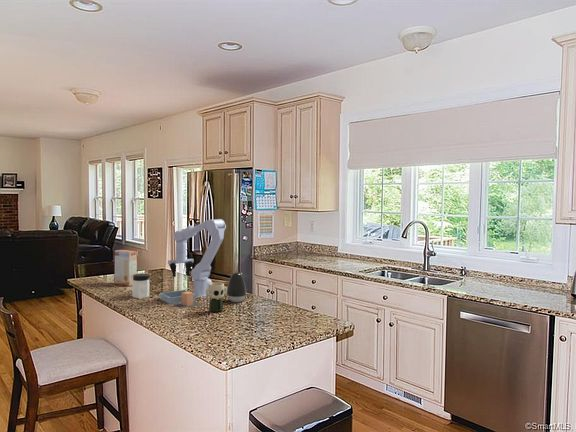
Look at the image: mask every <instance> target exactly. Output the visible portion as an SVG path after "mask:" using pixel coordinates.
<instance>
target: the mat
mask: <svg viewBox="0 0 576 432" xmlns="http://www.w3.org/2000/svg"><path fill="white" fill-rule="evenodd" d="M172 305H173V306H175V308H178V309H180V310H181V309H186V308H193V307H194V308H195V307H200V306H201V307H202V306H203V304H202V303H199V302H197V301H193V305H189V306H185V305H181V303H174V304H172Z"/></svg>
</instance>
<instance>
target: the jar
mask: <svg viewBox="0 0 576 432" xmlns="http://www.w3.org/2000/svg"><path fill="white" fill-rule="evenodd" d="M131 287H132V291H131V293H132V294H131V295H132V298H137V299H142V298H148V297H149V296H150V287H151V286H150V274H149V273H137V274H134V275H133V281H132V286H131Z"/></svg>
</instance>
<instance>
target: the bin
mask: <svg viewBox="0 0 576 432" xmlns="http://www.w3.org/2000/svg"><path fill="white" fill-rule="evenodd" d="M187 291H188V290H185V289H180V290H172V291H163V292H159V295H158V296H159V300H161V301H163V302H165V303H167V304H168V305H173V304H177V303H181V293H183V292H187ZM196 298H197V297H196V295H195V294H194V293H193V301H195V302H197V301H196Z"/></svg>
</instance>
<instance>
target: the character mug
mask: <svg viewBox="0 0 576 432" xmlns="http://www.w3.org/2000/svg"><path fill="white" fill-rule="evenodd" d="M227 287H228V286H225V284H224V283H222V282H212V283H210V284H209V289H206V296H205V297H209V298H210V302H209V303H210V305H209V311H211V312H213V313H215V312H217V313H218V312H223V310H224V308H223V306H224V305H223V299H222V298H224V296H225V294H227ZM208 291H209V294H208Z"/></svg>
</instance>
